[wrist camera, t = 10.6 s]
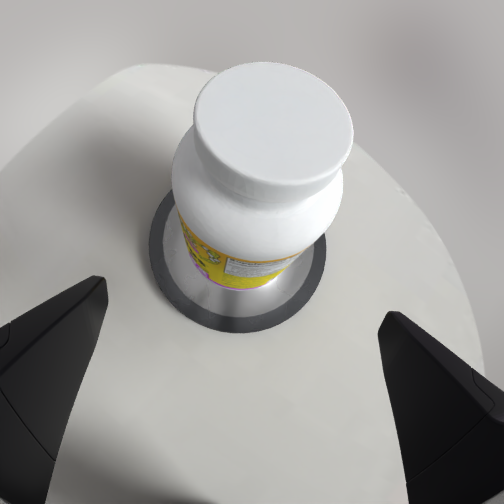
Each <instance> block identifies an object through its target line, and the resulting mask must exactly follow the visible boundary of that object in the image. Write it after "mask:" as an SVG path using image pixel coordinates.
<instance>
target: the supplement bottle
mask: <svg viewBox="0 0 504 504" xmlns="http://www.w3.org/2000/svg"><path fill="white" fill-rule="evenodd" d="M352 143H353V125H352V120H351V117H350V114H349V112H348V110H347V108H346V106H345V104H344V103H343V101H342V100H341V99H340V97H339V96H338V95H337V93H336V92H335V91H334V90H333V89H332V88H331V87H330V86H328V85H327V84H326V83H325V82H324V81H322V80H321V79H319V78H318V77H316V76H314V75H312V74H310V73H309V72H307V71H305V70H302V69H300V68H296V67H294V66H290V65H286V64H282V63H275V62H252V63H246V64H241V65H237V66H234V67H231V68H229V69H226V70H224V71H222V72H220V73H219V74H217V75H216V76H214V77H213V78H212V79H211V80H210V81H209V82H208V83H207V84H206V85H205V86H204V87H203V88H202V90H201V92H200V93H199V95H198V97H197V100H196V103H195V107H194V113H193V125H192V126H191V127H190V129H189V130H188V131H187V132H186V134H185V135H184V137H183V138H182V140H181V142H180V143H179V145H178V148H177V150H176V153H175V156H174V160H173V164H172V173H171V180H172V190H173V195H174V200H175V203H176V207H177V211H178V215H179V219H180V223H181V227H182V231H183V234H184V238H185V242H186V245H187V249H188V252H189V255H190V257H191V260H192V262H193V263H194V265H195V267H196V268H197V270H198V271H199V272H200V273H201V274H202V275H203V276H204V277H205V278H206V279H207V280H209V281H210V282H212V283H213V284H215V285H217V286H219V287H222V288H225V289H229V290H237V291H244V290H251V289H255V288H258V287H261V286H263V285H265V284H267V283H269V282H270V281H272V280H273V279H274V278H276V277H277V276H278V275H279V274H280V273H281V272H282V271H283V270H285V269H286V268H287V267H288V266H289V265H290V264H291V263H292V262H293V261H294V260H295V259H296V258H298V257H299V256H300V255H301V254H302V253H303V252H304V251H305V250H306V249H307V248H308V247H310V246H311V245H312V244H313V243H314V242H315V241H316V240H317V239H318V238H319V237H320V236H321V235H322V234H323V233H324V232H325V231H326V230H327V228H328V227H329V226H330V224H331V223H332V221H333V219H334V217H335V215H336V213H337V211H338V208H339V206H340V203H341V198H342V192H343V175H342V169H341V166H342V165H343V163H344V162H345V160H346V159H347V157H348V155H349V153H350V150H351V147H352Z"/></svg>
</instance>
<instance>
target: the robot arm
mask: <svg viewBox="0 0 504 504" xmlns="http://www.w3.org/2000/svg"><path fill="white" fill-rule="evenodd" d="M107 307H108V292H107V284H106V279H105V278H104V277H101V276H95V275H93V276H90V277H89V278H87V279H85V280H83V281H81V282H79V283H78V284H76V285H74V286H72V287H70V288H68V289H67V290H65V291H63V292H61V293H59V294H58V295H56V296H54V297H52V298H51V299H49V300H47V301H45V302H43V303H42V304H40V305H38V306H36V307H35V308H33V309H31V310H30V311H28V312H26V313H24V314H23V315H21V316H19V317H18V318H16V319H14V320H12V321H11V323H7V324H6V325H4V326H2V327H1V328H0V504H45V501H46V497H47V493H48V489H49V485H50V481H51V477H52V473H53V469H54V466H55V462H54V461H56V458H57V454H58V451H59V448H60V444H61V441H62V438H63V435H64V431H65V428H66V425H67V422H68V419H69V416H70V413H71V410H72V407H73V405H74V402H75V399H76V396H77V393H78V391H79V388H80V385H81V382H82V380H83V377H84V375H85V372H86V369H87V367H88V364H89V362H90V359H91V357H92V354H93V352H94V349H95V346H96V343H97V340H98V337H99V333H100V330H101V326H102V323H103V320H104V316H105V313H106V310H107ZM378 341H379V347H380V353H381V360H382V366H383V372H384V377H385V382H386V386H387V390H388V394H389V398H390V402H391V407H392V411H393V416H394V420H395V425H396V430H397V435H398V440H399V445H400V450H401V456H402V461H403V467H404V473H405V479H406V482H407V483H406V487H407V494H408V501H409V504H504V392H503V391H502V390H501V389H499V388H498V387H497V386H495V385H494V384H492V383H491V382H490V381H488V380H487V379H486V378H485V377H483V376H482V375H481V374H479V373H478V372H477V371H476V370H474V369H473V368H471V366H469V365H468V364H467V363H466V362H464V361H463V360H462V359H461V358H459V357H458V356H457V355H456V354H454V353H453V352H452V351H450V350H449V349H448V348H447V347H445V346H444V345H443V344H441V343H440V342H439V341H438V340H436V339H435V338H434V337H432V336H431V335H430V334H428V333H427V332H426V331H425V330H423V329H422V328H421V327H419V326H418V325H417V324H415V323H414V322H413V321H411V320H410V319H409V318H407V317H406V316H405V315H403V314H402V313H401V312H398V311H389V312H388V313H387V314H386V316H385V318H384V320H383V322H382V324H381V326H380V328H379V330H378Z"/></svg>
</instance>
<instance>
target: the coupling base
mask: <svg viewBox="0 0 504 504" xmlns="http://www.w3.org/2000/svg"><path fill="white" fill-rule="evenodd" d="M149 255H150V261H151V266H152V269H153V272H154V275H155V278H156V280H157V282H158V284H159V286H160V288H161V290H162V291H163V293H164V294H165V296H166V297H167V298H168V300H169V301H170V302H171V303H172V304H173V305H174V306H175V307H176V308H177V309H178V310H179V311H180V312H181V313H183V314H184V315H185V316H186V317H188V318H189V319H191V320H193V321H194V322H196V323H198V324H200V325H202V326H205V327H207V328H209V329H213V330H216V331H220V332H227V333H250V332H257V331H261V330H265V329H269V328H271V327H274V326H276V325H278V324H281V323H282V322H284V321H286V320H287V319H289V318H290V317H292V316H293V315H294V314H296V313H297V312H298V311H299V310H300V309H301V308H302V307H303V306H304V305H305V304H306V303H307V302H308V301H309V299H310V298H311V296H312V295H313V293H314V292H315V290H316V288H317V286H318V284H319V282H320V280H321V277H322V274H323V271H324V266H325V261H326V239H325V234H324V233H323V234H322V235H321V236H320V237H319V238H318V239H317V240H316V241H315V242H314V243H313V244H312V245H311V246H310V247H308V248H307V249H306V250H305V251H304V252H303V253H302V254H301V255H300V256H299V257H298V258H296V259H295V260H294V261H293V262H292V263H291V264H290V265H289V266H288V267H287V268H286V269H285V270H283V271H282V272H281V273H280V274H279V275H278V276H277V277H276V278H274V279H273V280H272V281H270V282H269V283H267V284H265V285H263V286H261V287H258V288H255V289H251V290H244V291H237V290H229V289H225V288H222V287H219V286H217V285H215V284H213V283H212V282H210V281H209V280H207V279H206V278H205V277H204V276H203V275H202V274H201V273H200V272H199V271H198V270H197V268H196V267H195V265H194V263H193V262H192V260H191V257H190V255H189V252H188V249H187V245H186V242H185V238H184V234H183V231H182V227H181V223H180V219H179V215H178V211H177V207H176V203H175V200H174V195H173V190H171V191H170V192H169V193H168V194H167V195H166V197H165V198H164V199H163V201H162V202H161V204H160V206H159V208H158V210H157V211H156V214H155V217H154V219H153V222H152V226H151V231H150V238H149Z"/></svg>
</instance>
